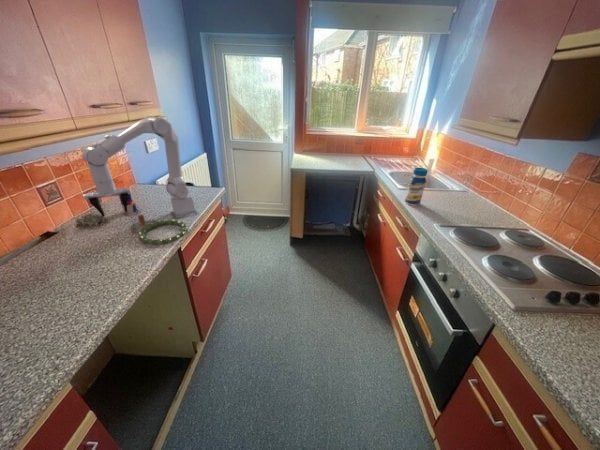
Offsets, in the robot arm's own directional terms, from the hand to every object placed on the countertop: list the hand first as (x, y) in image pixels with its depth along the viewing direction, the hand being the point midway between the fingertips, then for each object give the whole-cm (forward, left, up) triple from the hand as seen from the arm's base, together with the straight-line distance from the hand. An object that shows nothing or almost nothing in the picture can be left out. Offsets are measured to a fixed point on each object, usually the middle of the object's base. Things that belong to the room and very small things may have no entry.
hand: (115, 213), depth 100 cm
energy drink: (-4, -20, -10) cm, 23 cm away
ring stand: (-8, -2, -9) cm, 13 cm away
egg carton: (+11, -16, -10) cm, 22 cm away
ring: (-15, +10, -8) cm, 20 cm away
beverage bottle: (-140, +40, -10) cm, 146 cm away
